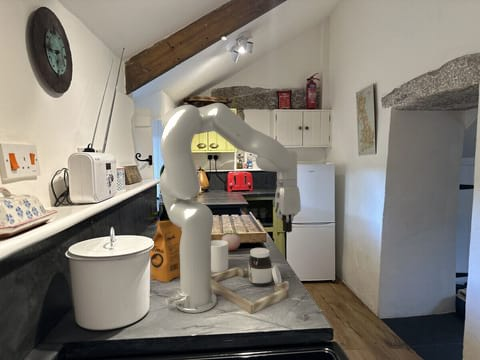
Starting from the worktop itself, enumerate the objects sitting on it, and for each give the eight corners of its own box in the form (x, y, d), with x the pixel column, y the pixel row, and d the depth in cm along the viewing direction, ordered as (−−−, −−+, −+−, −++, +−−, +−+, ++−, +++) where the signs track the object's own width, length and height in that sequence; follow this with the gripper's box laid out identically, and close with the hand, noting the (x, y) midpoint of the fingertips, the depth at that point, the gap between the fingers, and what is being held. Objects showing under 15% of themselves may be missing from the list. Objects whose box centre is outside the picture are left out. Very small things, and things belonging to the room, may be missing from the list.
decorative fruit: (223, 255, 133) (223, 233, 132) (220, 249, 141) (220, 229, 140) (243, 253, 135) (242, 232, 135) (239, 247, 143) (238, 228, 143)
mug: (235, 263, 122) (234, 239, 121) (222, 274, 111) (222, 247, 110) (217, 261, 125) (216, 237, 125) (203, 271, 114) (202, 244, 113)
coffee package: (146, 279, 107) (144, 221, 105) (169, 267, 118) (167, 215, 116) (166, 284, 103) (164, 224, 101) (188, 272, 113) (187, 217, 112)
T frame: (250, 314, 83) (250, 305, 83) (204, 284, 103) (204, 277, 102) (296, 292, 96) (296, 285, 95) (247, 269, 115) (247, 263, 115)
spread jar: (246, 277, 108) (246, 247, 107) (275, 274, 111) (275, 245, 110) (254, 292, 97) (254, 258, 96) (286, 288, 99) (286, 255, 98)
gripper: (280, 186, 101) (281, 237, 102) (307, 182, 110) (307, 229, 112) (265, 184, 107) (266, 233, 108) (292, 181, 116) (292, 226, 118)
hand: (287, 231), depth 110 cm, fingers closed
